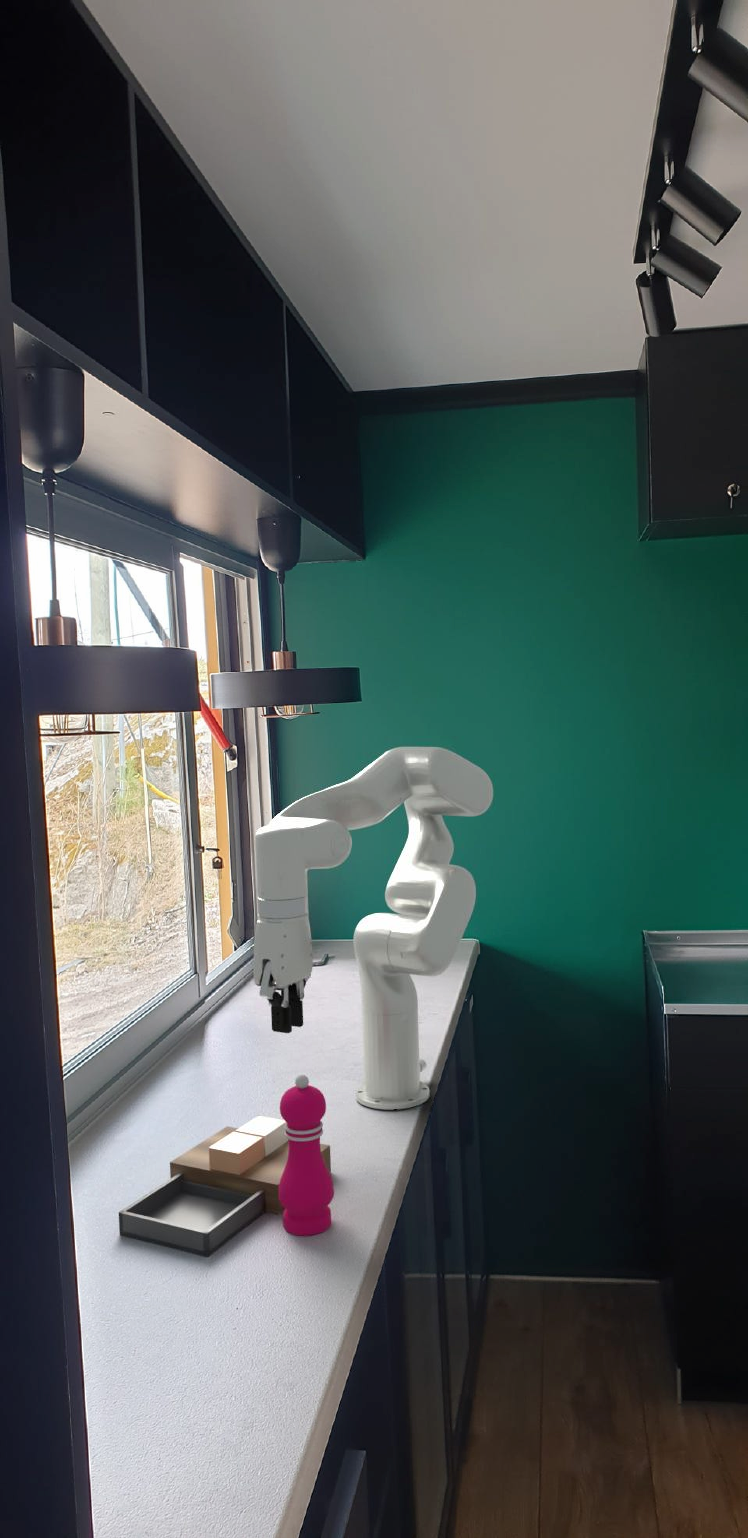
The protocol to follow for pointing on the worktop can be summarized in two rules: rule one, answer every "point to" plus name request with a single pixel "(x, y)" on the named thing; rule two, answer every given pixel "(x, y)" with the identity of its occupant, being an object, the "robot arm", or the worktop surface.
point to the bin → (190, 1215)
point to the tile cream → (266, 1132)
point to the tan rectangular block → (236, 1153)
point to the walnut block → (248, 1182)
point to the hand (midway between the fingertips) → (287, 1027)
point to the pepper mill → (305, 1162)
